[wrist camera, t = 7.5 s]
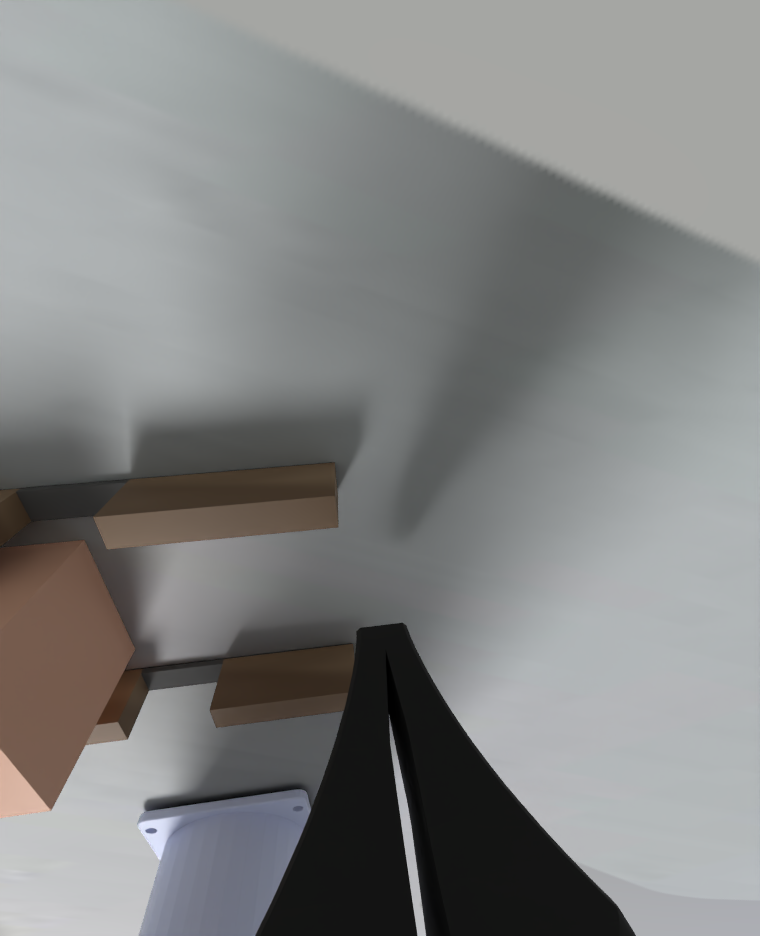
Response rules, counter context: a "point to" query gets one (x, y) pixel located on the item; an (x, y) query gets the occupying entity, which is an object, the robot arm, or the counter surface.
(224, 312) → the counter surface
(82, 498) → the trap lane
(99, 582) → the terracotta block
